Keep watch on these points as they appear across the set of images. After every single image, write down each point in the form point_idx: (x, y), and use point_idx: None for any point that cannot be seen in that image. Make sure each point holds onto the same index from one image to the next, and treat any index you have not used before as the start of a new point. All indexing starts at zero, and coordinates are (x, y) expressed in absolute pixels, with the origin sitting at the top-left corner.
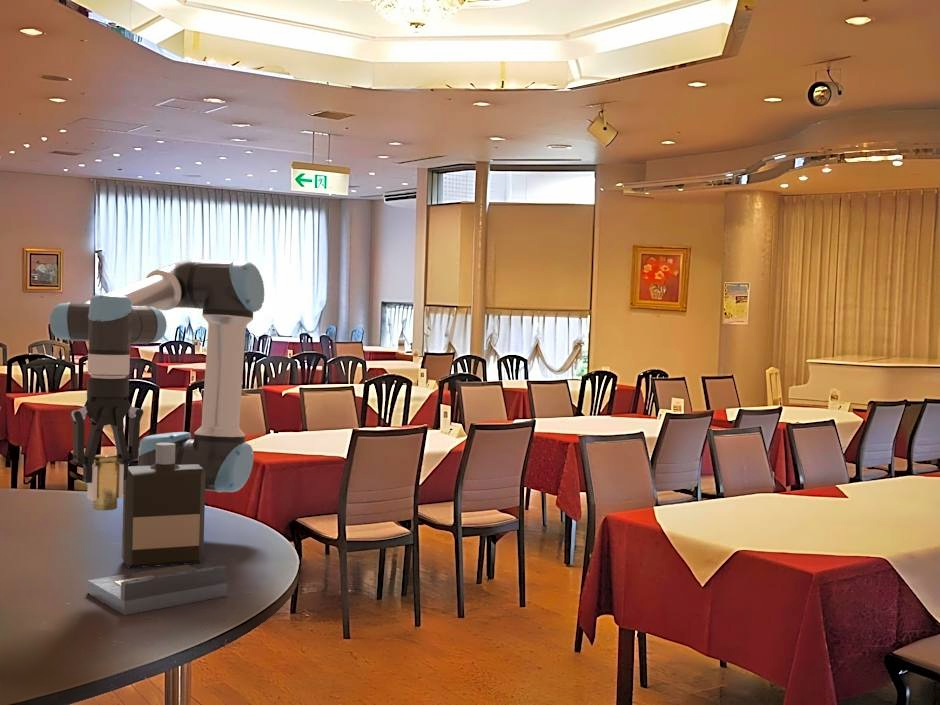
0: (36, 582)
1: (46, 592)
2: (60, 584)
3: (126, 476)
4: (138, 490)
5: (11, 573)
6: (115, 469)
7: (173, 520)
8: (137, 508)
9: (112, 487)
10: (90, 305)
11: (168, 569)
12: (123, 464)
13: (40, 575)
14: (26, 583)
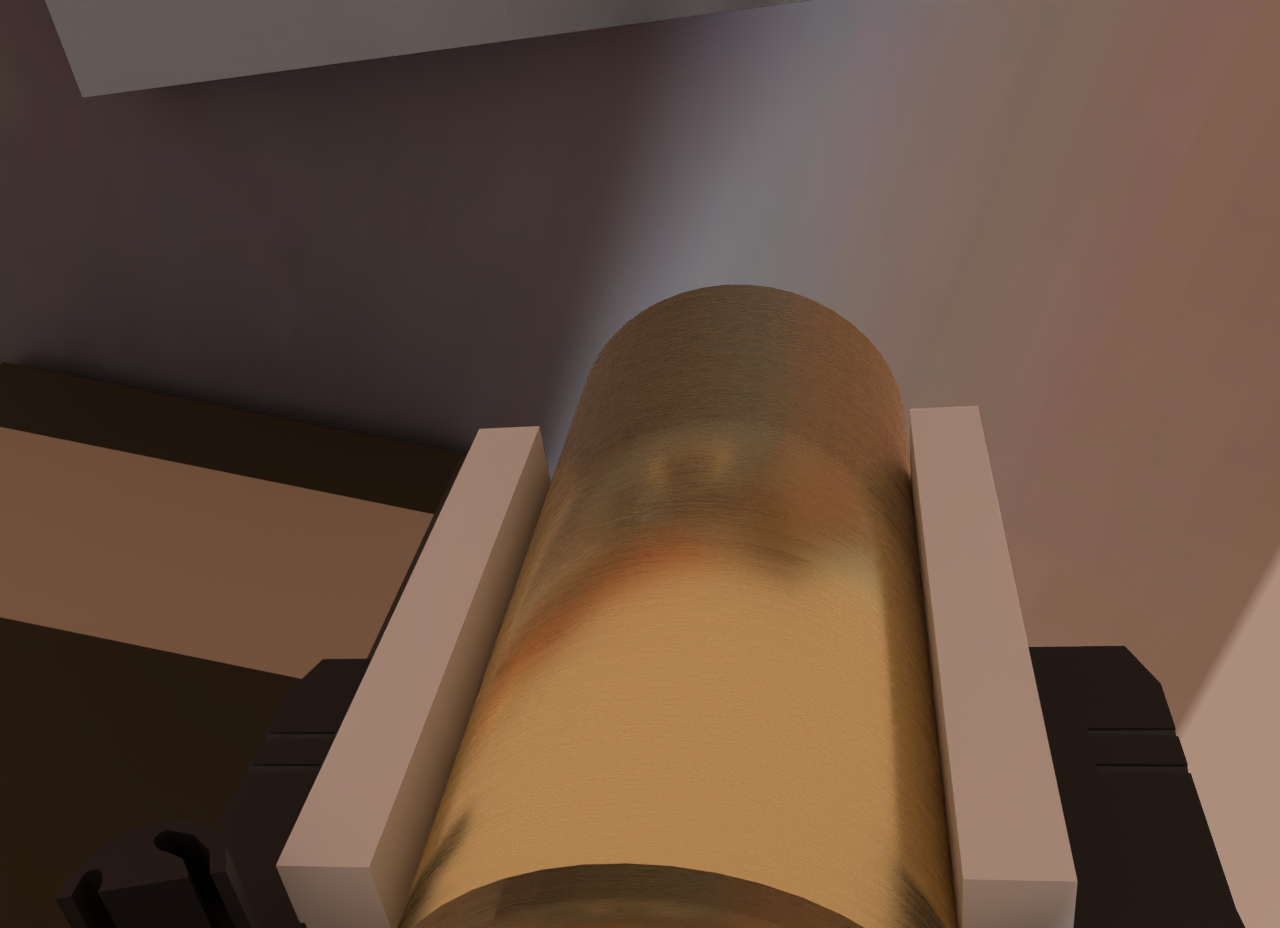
0: (1148, 426)
1: (1207, 147)
2: (1028, 305)
3: (308, 703)
4: None
5: (1188, 675)
6: (515, 741)
7: (19, 585)
8: None
9: (642, 475)
10: None
11: (243, 8)
12: (283, 862)
13: (1053, 562)
14: (1216, 434)
